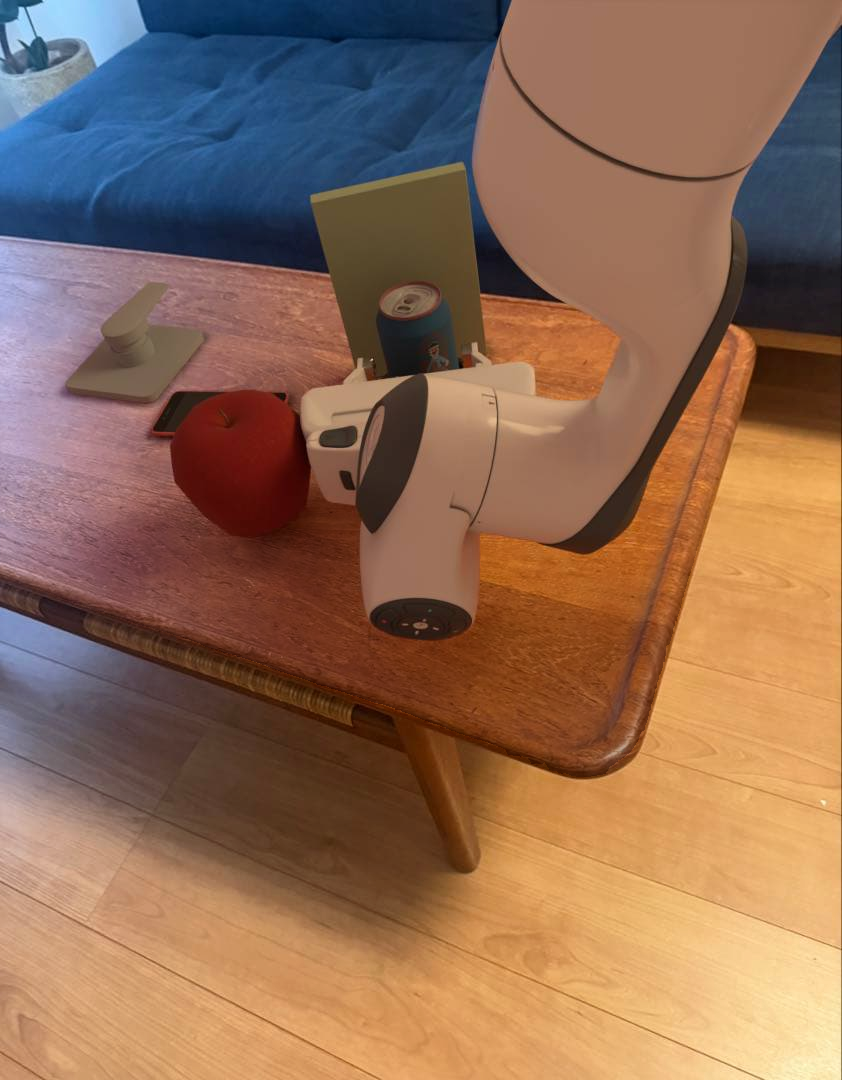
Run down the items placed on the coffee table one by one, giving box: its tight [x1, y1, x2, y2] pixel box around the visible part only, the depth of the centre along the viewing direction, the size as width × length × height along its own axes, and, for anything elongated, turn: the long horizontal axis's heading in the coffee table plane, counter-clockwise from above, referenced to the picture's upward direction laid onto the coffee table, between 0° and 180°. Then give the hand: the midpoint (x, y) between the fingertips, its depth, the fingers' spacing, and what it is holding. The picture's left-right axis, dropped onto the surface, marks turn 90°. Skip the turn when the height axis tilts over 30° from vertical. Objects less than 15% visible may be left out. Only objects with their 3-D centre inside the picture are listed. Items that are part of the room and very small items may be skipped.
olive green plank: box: [309, 161, 488, 378], centre depth 80 cm, size 14×2×20 cm, turn 98°
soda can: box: [376, 281, 459, 378], centre depth 78 cm, size 7×7×12 cm
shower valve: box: [64, 281, 205, 404], centre depth 95 cm, size 12×6×15 cm
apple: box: [169, 389, 312, 538], centre depth 71 cm, size 12×12×13 cm
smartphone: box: [150, 390, 290, 437], centre depth 87 cm, size 7×1×14 cm
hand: (418, 356), depth 74 cm, fingers open, 8 cm apart
